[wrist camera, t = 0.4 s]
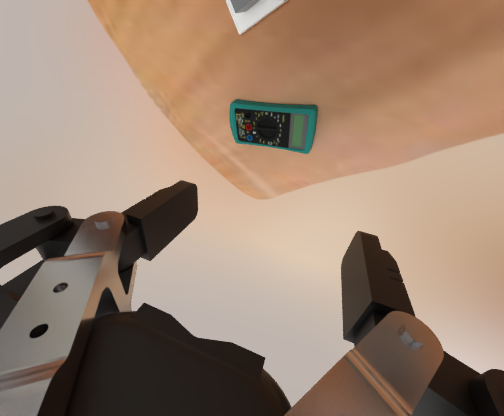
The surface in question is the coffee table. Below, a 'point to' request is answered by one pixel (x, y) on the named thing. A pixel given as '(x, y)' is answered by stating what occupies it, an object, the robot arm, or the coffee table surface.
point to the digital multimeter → (274, 125)
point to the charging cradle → (251, 11)
